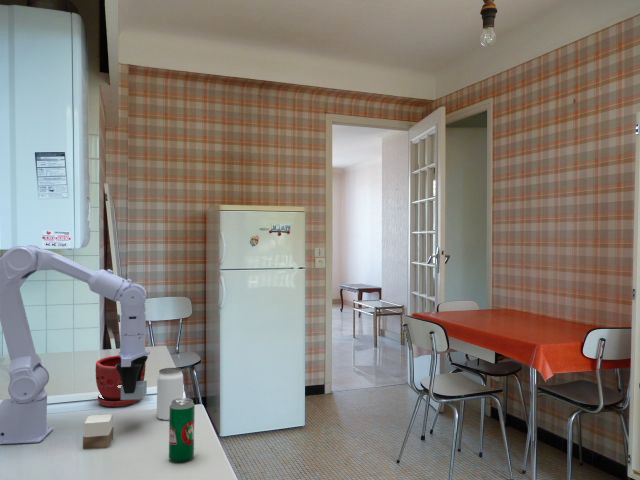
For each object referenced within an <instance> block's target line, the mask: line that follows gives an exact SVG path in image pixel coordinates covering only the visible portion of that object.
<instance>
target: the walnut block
mask: <svg viewBox="0 0 640 480" xmlns="http://www.w3.org/2000/svg"><path fill="white" fill-rule="evenodd" d="M113 440H114V427H112V430H111V432H110V434H109V435H106V436H94V437H84V435H83V437H82V450H93V449H94V450H96V449H97V450H99V449H108V447H109V446H110V445H111V443H112V442H113Z"/></svg>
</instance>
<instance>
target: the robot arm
mask: <svg viewBox="0 0 640 480" xmlns="http://www.w3.org/2000/svg"><path fill="white" fill-rule="evenodd" d="M37 271H38V272H39V271H55V272H59V273H60V274H63V275H66V276H68V277H71V278H74V279H75V280H78V281H81V282H83V283H86V284H87V285H88V288H89V290H90V291H91V292H92V293H95V294H97V295H100V296H102V297H104V298H107V299H108V300H111V301H113V302H119V303H120V305H121V315H120V332H119V333H120V336H119V337H120V341H119V343H120V345H119V352H118V355H119V356H120V358H121V363H118V364H116V369H117V371H118V372H119V374H120V377H121V380H122V384H123V389H124V393H125V394H128V393H134V391H135V388H136V381H140V380H141V375H142V371H143V368H144V365H145V362H146V363H147V360H148V358H149V357H148V356H149V355H150V354H151V350H146V327H147V326H146V325H147V324H146V322H147V321H146V320H147V319H146V318H147V317H146V316H147V315H146V304H145V303H146V300H147V296H148V295H147V291H146V288H145V287H143V285H141V284H140V283H138V282H132V281H133V280H132V279H130V278H127V279H126V278H123V277H122V276H119V275H116V274H114V270H111V269H108V268H107V269H103V268H102V269H99V270H96V271H94V270H92V269H91V268H88V267H87V266H83V265H81V264H79V263H78V262H76V261H74V260H72V259H70V258H68V257H65V256H63V255H61V254H59V253H57V252H54V251H51V250H48V249H45V248H40V247H38V246H37V245H31V244H30V245H22V244H21V245H14V246H12V247H10V248H9V249H8V250H6V252H5V253H4V254H3V255H2V256H0V325H1V328H2V332H3V336H4V340H5V344H6V350H7V353H8V356H9V361H10V364H9V369H8V375H9V382H8V387H7V392H8V395H9V397H10V398H5V399H3V400H2V401H1V402H0V445H7V444H8V445H9V444H11V445H12V444H13V445H14V444H31V443H40V442H41V443H42V441H43V440H44V439H45V438H46V437H47V436H48V435H49V434H50V433H51V432H52V431H53V430H54V427H47V424H48V423H47V421H48V419H47V415H48V393H47V391H46V390H45V387H46V386H47V385H48V383H49V380H50V373H49V371H48V369H47V368H46V367H45V366H44V364H43V363H42V361H41V357H40V356H39V355H38V353H37V352H36V349H35V345H34V341H33V337H32V332H31V330H30V325H29V321H28V317H27V313H26V309H25V305H24V301H23V297H22V293H21V287H22V285H23V284H24V283H25V282H26V281H27V279H28V278H29V277H30V276H31V275H33V274H35V273H36V272H37Z"/></svg>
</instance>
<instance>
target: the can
mask: <svg viewBox="0 0 640 480" xmlns="http://www.w3.org/2000/svg"><path fill="white" fill-rule="evenodd" d="M182 370H183V369H182V368H179V367H165V368H162V369H159V373H158V375H157V379H156V382H157V383H156V418H157V419H158V418H159V420H160V419H163V420H162V421H169V412H170V405H171V404H172V403H171V402H172V401H173V400H175V399H178V398H184V374H183V372H182Z"/></svg>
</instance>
